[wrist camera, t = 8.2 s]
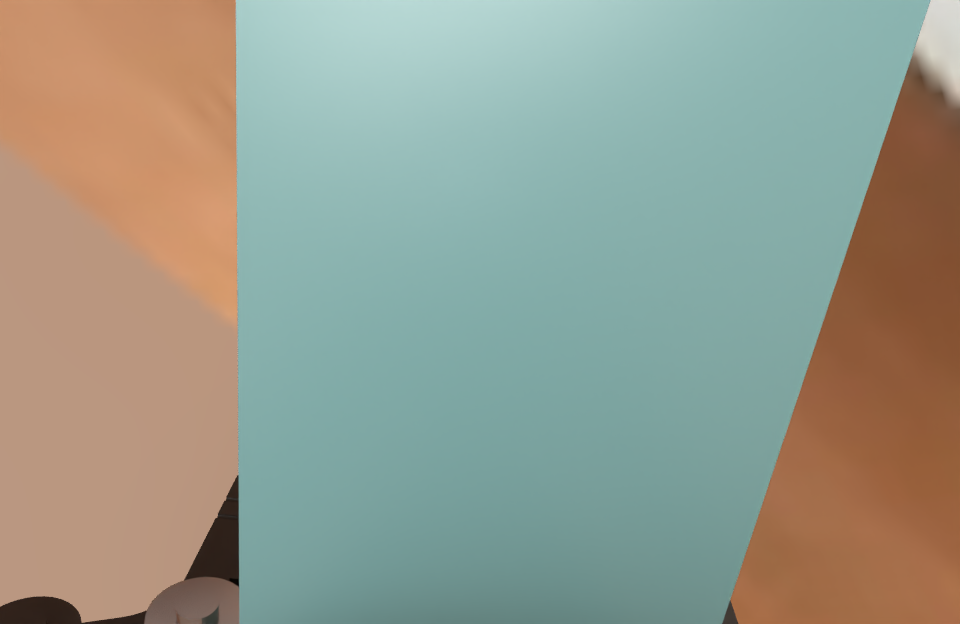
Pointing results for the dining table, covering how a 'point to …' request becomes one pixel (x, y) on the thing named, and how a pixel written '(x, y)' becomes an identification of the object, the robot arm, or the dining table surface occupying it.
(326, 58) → the teal box
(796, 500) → the dining table surface
